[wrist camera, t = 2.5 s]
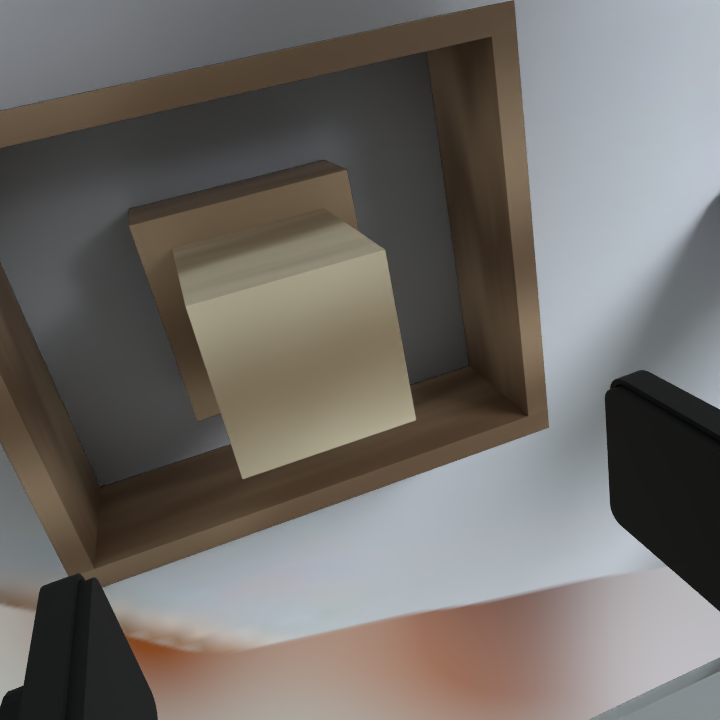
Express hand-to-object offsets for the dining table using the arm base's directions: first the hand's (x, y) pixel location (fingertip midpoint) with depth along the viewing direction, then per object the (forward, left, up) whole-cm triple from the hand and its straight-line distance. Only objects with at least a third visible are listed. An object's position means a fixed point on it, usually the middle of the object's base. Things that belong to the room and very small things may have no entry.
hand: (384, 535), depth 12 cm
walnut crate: (0, 0, -16) cm, 15 cm away
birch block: (0, 0, -13) cm, 12 cm away
